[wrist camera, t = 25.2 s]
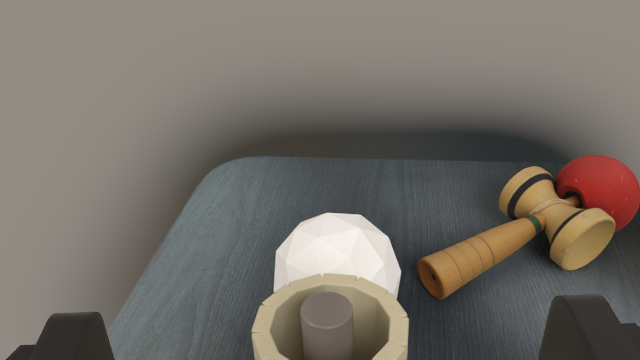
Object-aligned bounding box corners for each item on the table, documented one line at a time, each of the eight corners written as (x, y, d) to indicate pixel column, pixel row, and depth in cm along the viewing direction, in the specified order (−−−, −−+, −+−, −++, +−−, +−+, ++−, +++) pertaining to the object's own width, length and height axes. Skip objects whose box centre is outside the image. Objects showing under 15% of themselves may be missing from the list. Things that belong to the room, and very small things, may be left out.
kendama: (477, 353, 38) (672, 231, 44) (463, 271, 36) (672, 153, 41) (407, 297, 45) (585, 197, 51) (390, 225, 42) (580, 128, 48)
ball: (344, 326, 43) (387, 220, 42) (390, 379, 35) (442, 250, 35) (244, 296, 40) (289, 183, 40) (270, 345, 33) (325, 206, 32)
